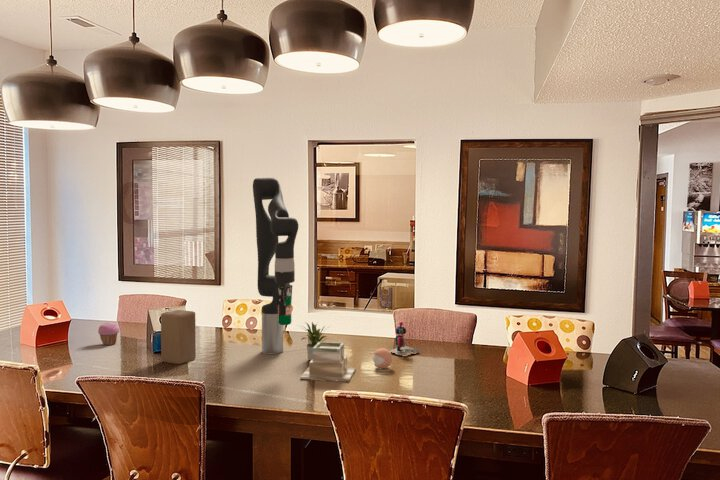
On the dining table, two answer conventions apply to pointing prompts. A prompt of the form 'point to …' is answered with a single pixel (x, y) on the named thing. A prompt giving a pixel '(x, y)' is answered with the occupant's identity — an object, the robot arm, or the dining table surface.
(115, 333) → the cupcake
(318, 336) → the house plant
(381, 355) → the toy ball
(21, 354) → the dining table surface
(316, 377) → the tower base
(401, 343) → the statue
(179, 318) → the block
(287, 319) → the soda can
